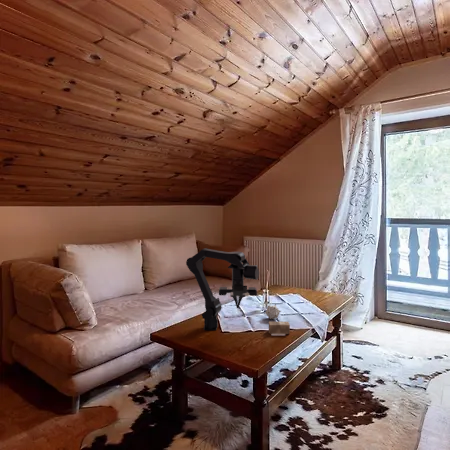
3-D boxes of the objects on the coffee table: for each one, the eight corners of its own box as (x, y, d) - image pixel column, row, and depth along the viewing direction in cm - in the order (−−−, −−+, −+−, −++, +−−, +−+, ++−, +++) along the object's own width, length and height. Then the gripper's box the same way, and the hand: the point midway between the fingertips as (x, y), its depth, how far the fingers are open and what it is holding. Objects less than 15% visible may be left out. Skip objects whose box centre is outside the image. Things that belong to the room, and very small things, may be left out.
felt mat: (271, 335, 175) (271, 334, 175) (269, 329, 182) (269, 329, 182) (285, 335, 175) (285, 334, 175) (283, 329, 182) (283, 329, 182)
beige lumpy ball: (275, 326, 196) (280, 316, 190) (261, 320, 198) (265, 309, 191) (279, 314, 203) (284, 304, 197) (265, 308, 204) (270, 297, 198)
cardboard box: (269, 324, 176) (289, 324, 176) (268, 321, 180) (288, 321, 180) (269, 333, 176) (289, 333, 176) (268, 330, 181) (288, 330, 181)
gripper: (218, 281, 167) (218, 313, 169) (257, 281, 167) (257, 313, 168) (219, 275, 178) (219, 305, 180) (256, 276, 178) (255, 306, 180)
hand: (237, 307), depth 177 cm, fingers closed
